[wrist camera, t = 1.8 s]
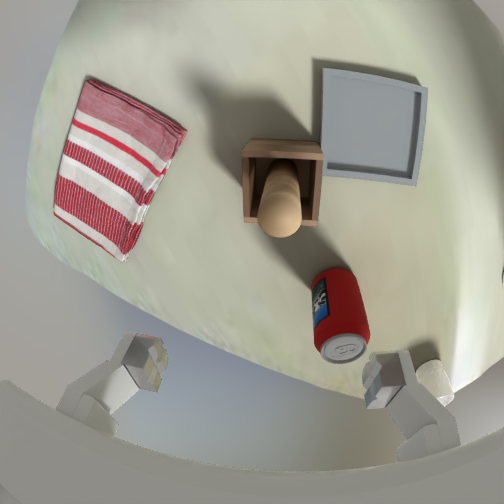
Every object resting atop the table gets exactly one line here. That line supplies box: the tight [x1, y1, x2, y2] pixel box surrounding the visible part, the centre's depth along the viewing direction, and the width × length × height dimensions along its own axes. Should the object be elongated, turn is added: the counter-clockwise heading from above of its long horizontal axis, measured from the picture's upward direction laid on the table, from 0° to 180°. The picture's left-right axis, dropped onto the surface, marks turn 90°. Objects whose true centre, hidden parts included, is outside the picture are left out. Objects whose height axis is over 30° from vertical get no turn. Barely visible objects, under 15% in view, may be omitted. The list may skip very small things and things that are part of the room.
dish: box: [320, 68, 428, 186], centre depth 25 cm, size 12×12×1 cm
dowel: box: [257, 158, 302, 237], centre depth 25 cm, size 3×3×12 cm
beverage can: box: [311, 268, 370, 364], centre depth 33 cm, size 7×7×12 cm
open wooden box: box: [242, 139, 324, 226], centre depth 27 cm, size 7×7×7 cm
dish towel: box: [54, 79, 187, 262], centre depth 32 cm, size 17×23×3 cm
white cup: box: [415, 359, 454, 406], centre depth 44 cm, size 8×8×10 cm
